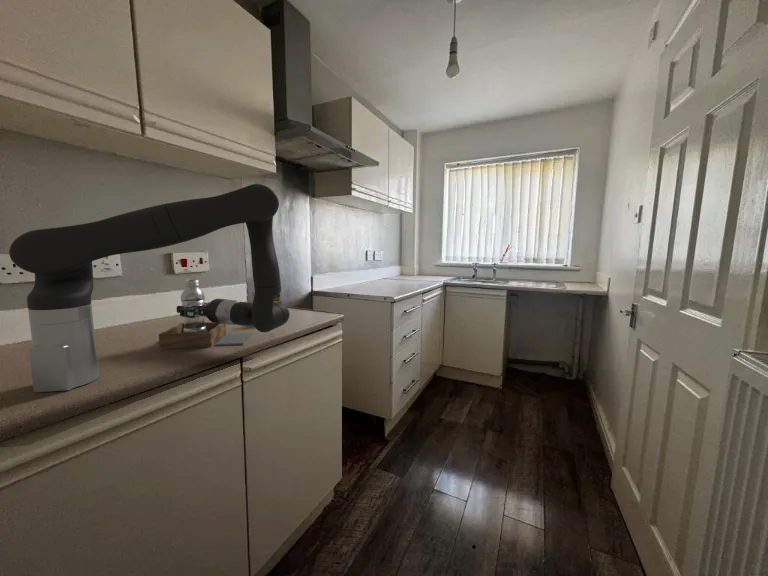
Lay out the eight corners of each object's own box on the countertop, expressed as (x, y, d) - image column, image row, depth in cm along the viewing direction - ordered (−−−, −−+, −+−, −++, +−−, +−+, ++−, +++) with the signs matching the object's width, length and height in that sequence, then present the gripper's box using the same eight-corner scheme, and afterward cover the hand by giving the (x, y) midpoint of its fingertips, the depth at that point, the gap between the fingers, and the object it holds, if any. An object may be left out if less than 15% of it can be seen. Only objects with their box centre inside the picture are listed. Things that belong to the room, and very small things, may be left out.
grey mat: (243, 344, 94) (243, 342, 94) (215, 345, 92) (215, 343, 92) (252, 334, 105) (252, 332, 105) (228, 335, 104) (228, 333, 104)
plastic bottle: (211, 339, 98) (208, 279, 96) (190, 345, 92) (187, 281, 90) (200, 337, 101) (197, 278, 98) (178, 342, 95) (175, 280, 92)
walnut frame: (211, 346, 91) (210, 332, 90) (159, 348, 88) (158, 334, 88) (226, 334, 104) (225, 322, 104) (182, 335, 102) (181, 323, 101)
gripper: (245, 296, 96) (207, 293, 102) (205, 303, 83) (164, 299, 89) (246, 319, 97) (208, 314, 103) (207, 329, 84) (166, 323, 89)
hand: (188, 307), depth 96 cm, fingers closed on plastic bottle, 6 cm apart
